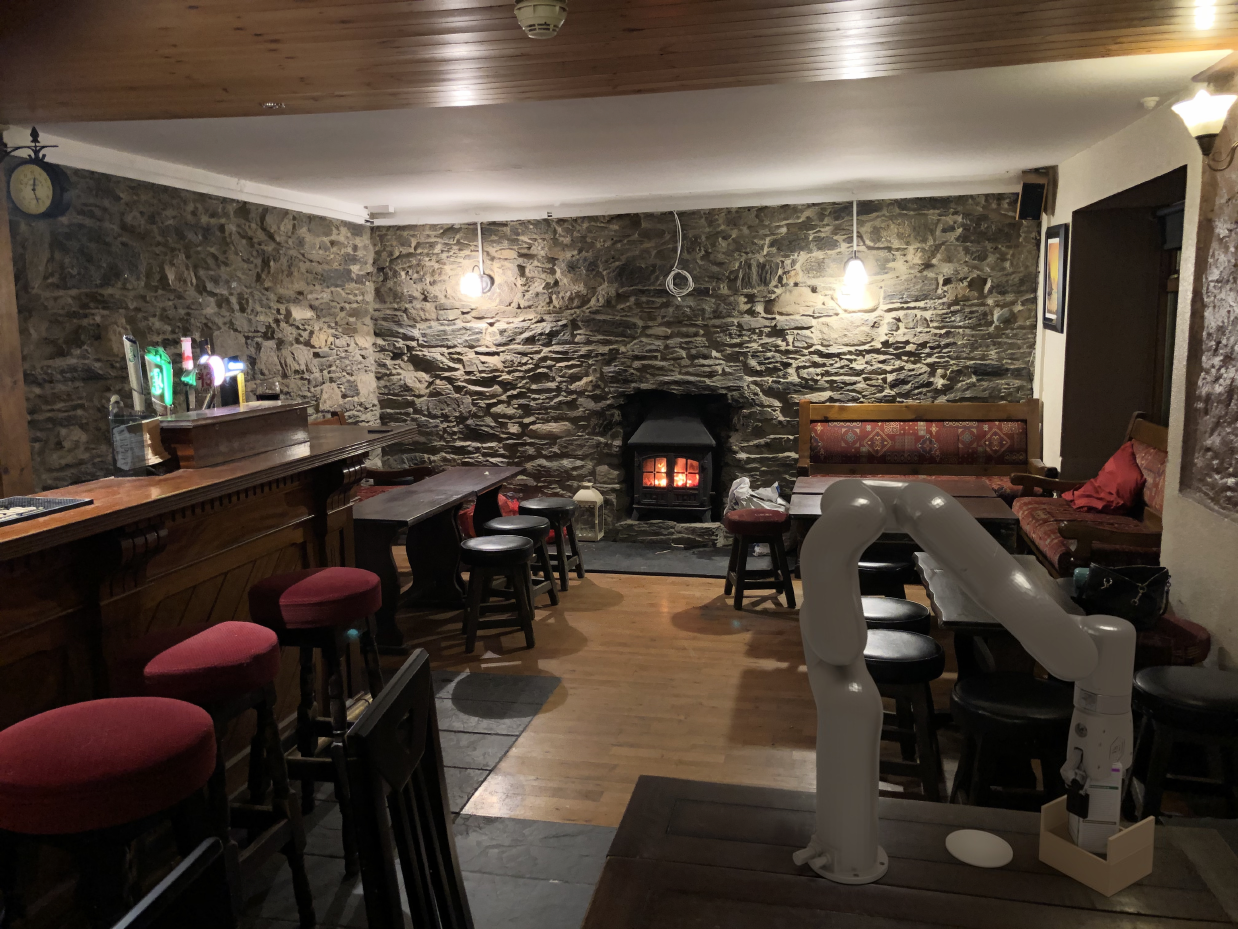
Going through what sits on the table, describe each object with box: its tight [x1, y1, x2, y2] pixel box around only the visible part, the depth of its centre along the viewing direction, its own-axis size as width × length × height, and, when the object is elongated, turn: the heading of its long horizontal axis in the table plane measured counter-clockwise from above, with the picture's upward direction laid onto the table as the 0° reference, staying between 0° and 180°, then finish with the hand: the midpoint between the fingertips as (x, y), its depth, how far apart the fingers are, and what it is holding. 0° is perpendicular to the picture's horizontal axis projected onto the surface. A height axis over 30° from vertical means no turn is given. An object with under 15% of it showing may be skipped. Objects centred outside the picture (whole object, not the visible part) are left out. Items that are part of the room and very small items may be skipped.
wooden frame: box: [1038, 794, 1156, 898], centre depth 136 cm, size 11×11×9 cm
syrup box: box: [1068, 761, 1123, 855], centre depth 136 cm, size 6×6×14 cm
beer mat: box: [945, 829, 1014, 869], centre depth 142 cm, size 10×10×1 cm
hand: (1094, 806), depth 136 cm, fingers closed on syrup box, 8 cm apart
